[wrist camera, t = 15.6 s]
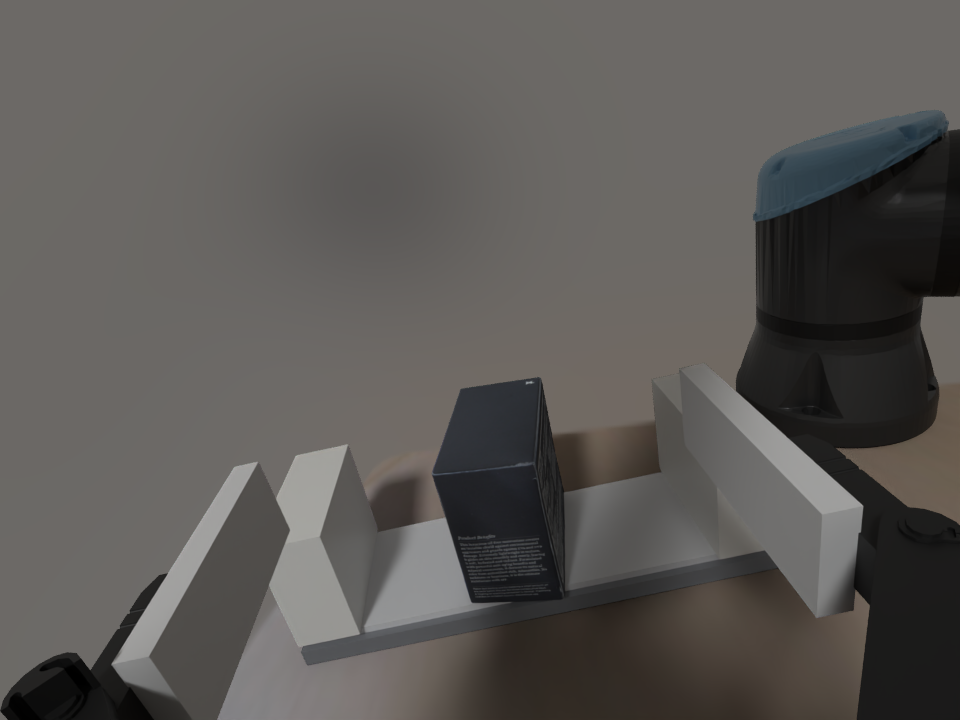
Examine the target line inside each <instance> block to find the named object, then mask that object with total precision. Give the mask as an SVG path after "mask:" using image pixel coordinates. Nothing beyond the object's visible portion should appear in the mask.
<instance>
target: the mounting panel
mask: <svg viewBox="0 0 960 720" xmlns="http://www.w3.org/2000/svg"><path fill="white" fill-rule="evenodd" d="M564 512H565V514H564V515H565V517H564V519H565V598H564V599H562V600H548V601H523V602H497V603H472V602H471V600H470V597H469V594H468V591H467V588H466V584H465V581H464V577H463V574H462V571H461V567H460V564H459V561H458V557H457V554H456V551H455V547H454V544H453V541H452V537H451V534H450V531H449V528H448V524H447V521H446V518H441V519H437V520H432V521H427V522H422V523H418V524H413V525H408V526H403V527H399V528H394V529H389V530H385V531H380V532H377V536H376V542H375V548H374V554H373V560H372V566H371V572H370V578H369V584H368V590H367V596H366V602H365V608H364V614H363V620H362V626H361V632H360V634H359V635H355V636H350V637H345V638H340V639H335V640H331V641H326V642H321V643H316V644H311V645H306V646H303V648H302V651H301V653H302V655H303V657H304V659H305V662H306V664H307V665H312V664H317V663H321V662H326V661H331V660H336V659H341V658H346V657H350V656H355V655H360V654H365V653H370V652H375V651H379V650H384V649H389V648H394V647H399V646H404V645H408V644H413V643H418V642H423V641H428V640H433V639H437V638H442V637H447V636H452V635H457V634H462V633H466V632H471V631H476V630H481V629H486V628H491V627H495V626H500V625H505V624H510V623H515V622H520V621H524V620H529V619H534V618H539V617H544V616H549V615H553V614H558V613H563V612H568V611H573V610H577V609H582V608H587V607H592V606H597V605H602V604H606V603H611V602H616V601H621V600H626V599H631V598H635V597H640V596H645V595H650V594H655V593H660V592H664V591H669V590H674V589H679V588H684V587H689V586H693V585H698V584H703V583H708V582H713V581H718V580H722V579H727V578H732V577H737V576H742V575H747V574H751V573H756V572H761V571H766V570H771V569H776V568H778V567H777V565H776V564H775V563H774V561H773V560H772V559H771V557H770V556H769V555H768V553H767V552H766V551H765V550H764V551H759V552H754V553H749V554H745V555H740V556H735V557H730V558H725V559H721V560H720V559H719V558H718V556H717V555H716V553H715V552H714V550H713V549H712V547H711V546H710V544H709V543H708V541H707V540H706V538H705V537H704V535H703V534H702V532H701V531H700V529H699V527H698V526H697V524H696V523H695V521H694V520H693V518H692V517H691V515H690V514H689V512H688V511H687V509H686V508H685V506H684V505H683V503H682V502H681V500H680V499H679V497H678V496H677V494H676V493H675V491H674V490H673V488H672V487H671V485H670V483H669V482H668V480H667V479H666V477H665V476H664V474H663V473H662V472H659V473H654V474H650V475H645V476H640V477H635V478H631V479H626V480H621V481H616V482H612V483H607V484H602V485H598V486H593V487H588V488H583V489H579V490H574V491H569V492H564Z"/></svg>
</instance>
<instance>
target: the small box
mask: <svg viewBox="0 0 960 720" xmlns="http://www.w3.org/2000/svg"><path fill="white" fill-rule="evenodd" d="M432 476H433V479H434V482H435V486H436V489H437V492H438V495H439V498H440V502H441V505H442V508H443V511H444V514H445V518H446V521H447V524H448V528H449V531H450V534H451V537H452V541H453V544H454V547H455V551H456V554H457V557H458V561H459V564H460V567H461V571H462V574H463V577H464V581H465V584H466V588H467V591H468V594H469V597H470V600H471V602H472V603H497V602H523V601H548V600H562V599H564V598H565V519H564V517H565V515H564V514H565V512H564V490H563V486H562V481H561V476H560V472H559V467H558V463H557V458H556V454H555V449H554V444H553V440H552V432H551V427H550V422H549V417H548V411H547V406H546V401H545V395H544V390H543V384H542V381H541V378H540V377H537V378H531V379H524V380H517V381H511V382H503V383H497V384H491V385H483V386H476V387H470V388H463V389H461V390H460V393H459V396H458V399H457V402H456V405H455V408H454V411H453V414H452V417H451V419H450V422H449V425H448V428H447V431H446V434H445V437H444V440H443V443H442V446H441V448H440V451H439V454H438V457H437V460H436V463H435V465H434V468H433V471H432Z"/></svg>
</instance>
